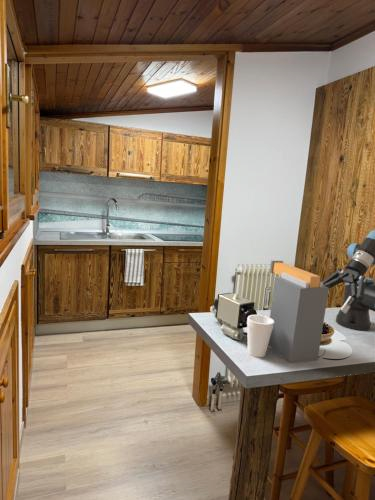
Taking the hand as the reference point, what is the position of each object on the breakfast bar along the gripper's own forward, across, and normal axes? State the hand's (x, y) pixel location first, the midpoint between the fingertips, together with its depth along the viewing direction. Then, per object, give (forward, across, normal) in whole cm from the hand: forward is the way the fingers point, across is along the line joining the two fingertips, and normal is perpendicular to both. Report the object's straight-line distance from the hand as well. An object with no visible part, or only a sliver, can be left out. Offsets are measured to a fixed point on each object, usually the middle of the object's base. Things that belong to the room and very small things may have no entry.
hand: (330, 305), depth 141 cm
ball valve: (+34, -11, -22) cm, 42 cm away
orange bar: (+2, +2, -24) cm, 24 cm away
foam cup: (+32, +4, -21) cm, 39 cm away
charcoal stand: (+24, +6, -9) cm, 27 cm away
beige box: (+33, -26, -21) cm, 47 cm away
